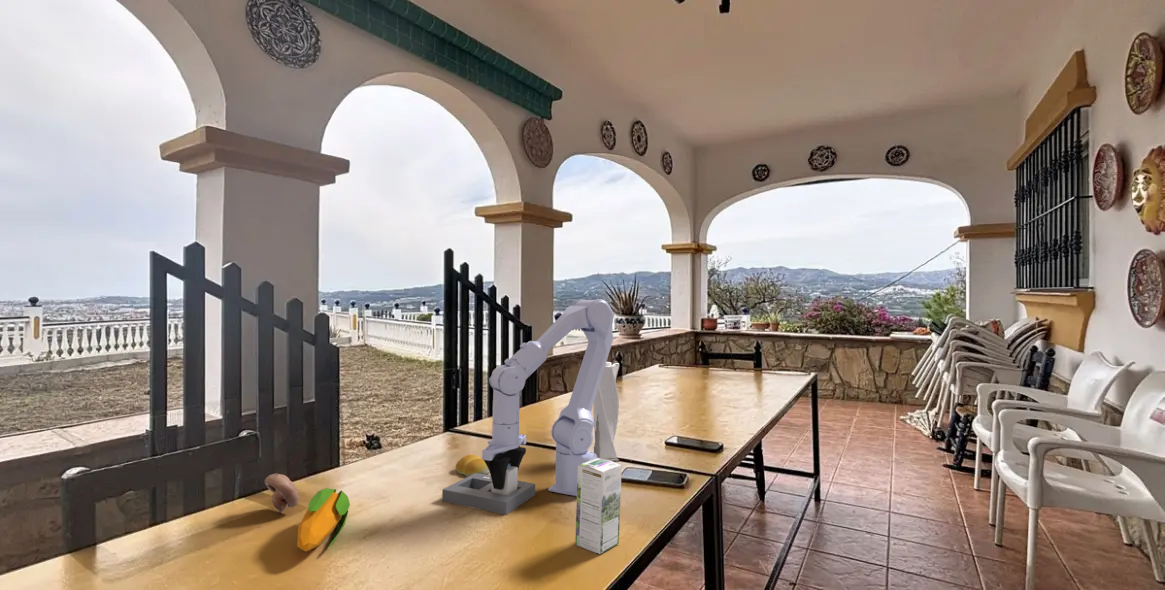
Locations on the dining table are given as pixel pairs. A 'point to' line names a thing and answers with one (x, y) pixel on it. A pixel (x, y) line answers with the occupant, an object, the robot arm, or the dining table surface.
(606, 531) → the syrup box
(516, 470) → the plug
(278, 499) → the mushroom
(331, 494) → the corn
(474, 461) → the bread roll
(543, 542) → the dining table surface
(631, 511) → the dining table surface
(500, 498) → the port panel
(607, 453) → the skyscraper
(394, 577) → the dining table surface
